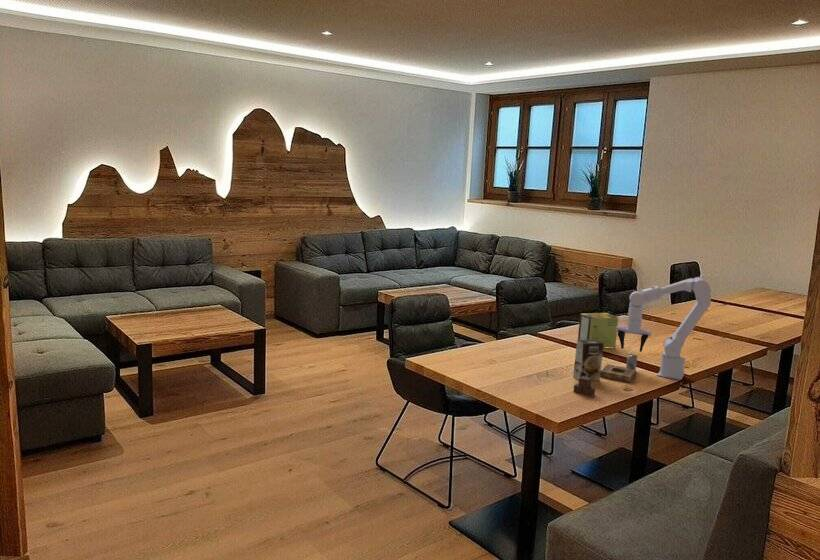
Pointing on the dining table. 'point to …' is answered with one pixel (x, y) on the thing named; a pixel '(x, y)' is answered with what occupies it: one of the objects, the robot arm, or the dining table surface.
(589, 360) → the coffee box
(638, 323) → the robot arm
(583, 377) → the stack of crates
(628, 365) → the pin
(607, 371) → the socket block
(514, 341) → the dining table surface
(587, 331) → the protein box
